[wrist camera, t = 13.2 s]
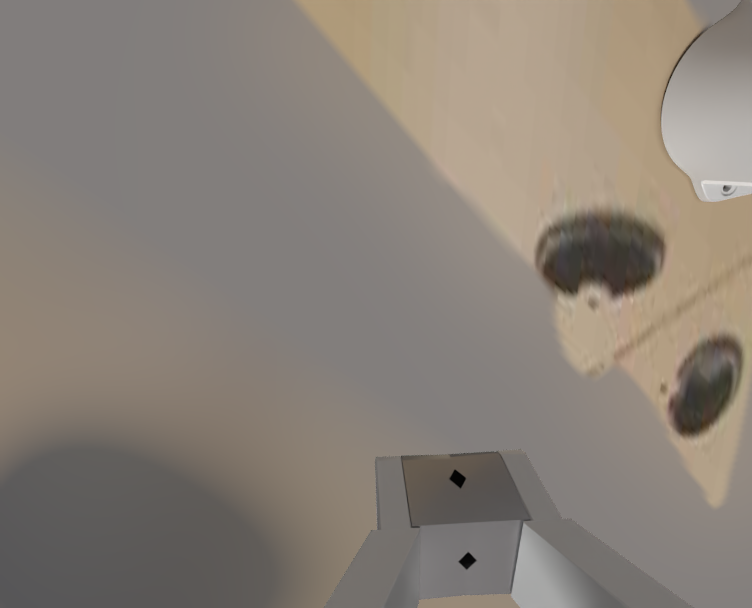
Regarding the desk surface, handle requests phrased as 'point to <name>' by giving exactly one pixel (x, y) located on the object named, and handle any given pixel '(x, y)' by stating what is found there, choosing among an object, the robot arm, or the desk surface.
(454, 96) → the desk surface
